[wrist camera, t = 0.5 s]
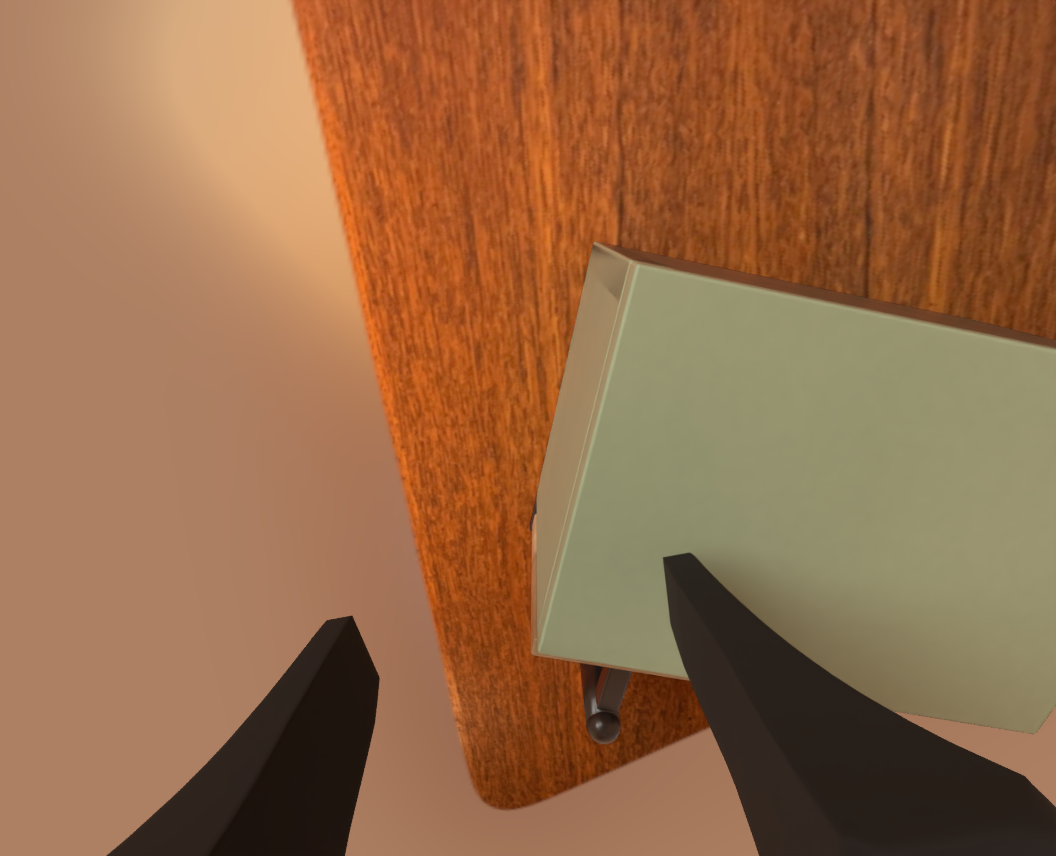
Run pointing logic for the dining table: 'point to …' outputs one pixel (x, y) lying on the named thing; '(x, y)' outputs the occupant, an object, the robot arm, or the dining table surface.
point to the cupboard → (806, 484)
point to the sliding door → (591, 676)
